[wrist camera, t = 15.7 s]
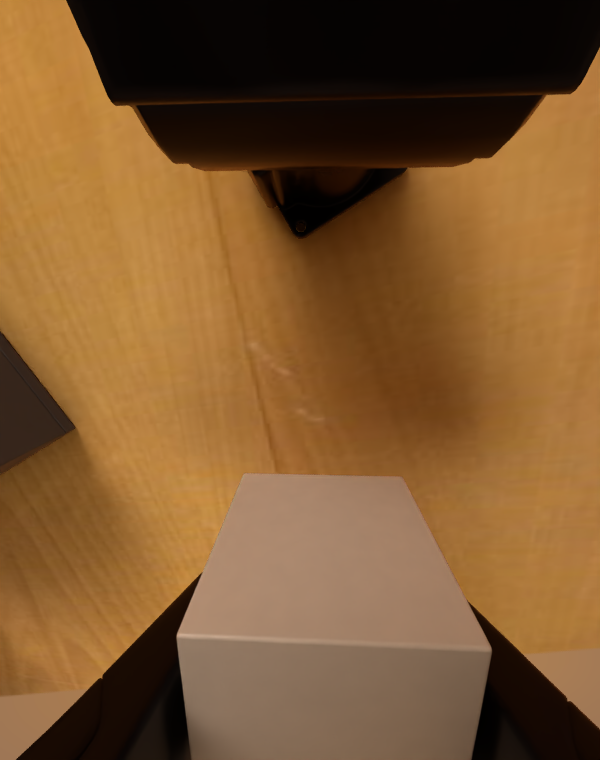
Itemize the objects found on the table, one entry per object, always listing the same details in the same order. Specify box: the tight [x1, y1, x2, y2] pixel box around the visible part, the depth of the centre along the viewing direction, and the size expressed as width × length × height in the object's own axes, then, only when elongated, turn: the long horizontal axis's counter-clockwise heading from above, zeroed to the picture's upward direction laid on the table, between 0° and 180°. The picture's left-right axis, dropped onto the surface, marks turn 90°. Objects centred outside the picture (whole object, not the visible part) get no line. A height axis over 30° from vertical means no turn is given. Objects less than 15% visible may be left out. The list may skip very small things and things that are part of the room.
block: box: [177, 473, 492, 760], centre depth 7 cm, size 4×4×4 cm
